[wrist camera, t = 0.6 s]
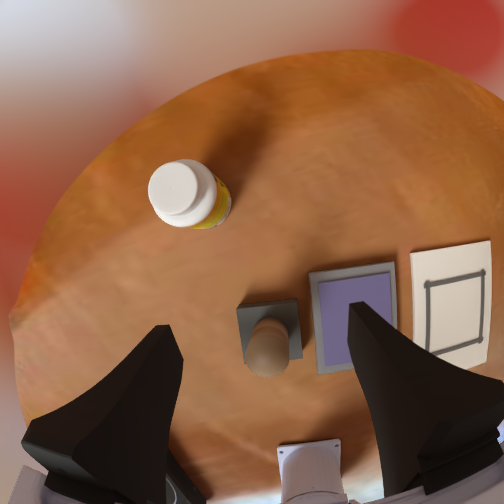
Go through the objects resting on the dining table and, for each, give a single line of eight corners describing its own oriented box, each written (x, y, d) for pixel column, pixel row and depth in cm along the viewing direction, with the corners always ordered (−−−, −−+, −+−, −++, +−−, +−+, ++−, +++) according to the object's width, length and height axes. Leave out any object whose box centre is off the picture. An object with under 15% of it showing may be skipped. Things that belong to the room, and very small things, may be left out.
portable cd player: (129, 499, 36) (121, 512, 32) (77, 429, 35) (64, 441, 31) (208, 499, 34) (202, 516, 30) (153, 422, 34) (142, 438, 30)
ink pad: (393, 356, 30) (397, 361, 28) (317, 370, 31) (318, 375, 29) (390, 260, 29) (395, 262, 28) (308, 272, 30) (309, 274, 29)
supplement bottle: (241, 190, 30) (222, 168, 20) (217, 238, 31) (187, 239, 21) (195, 168, 31) (158, 140, 21) (172, 215, 31) (126, 206, 21)
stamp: (301, 351, 31) (307, 385, 23) (246, 356, 31) (236, 391, 23) (296, 298, 31) (300, 318, 23) (239, 304, 31) (225, 326, 23)
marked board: (484, 360, 28) (486, 362, 28) (410, 384, 30) (412, 387, 29) (487, 240, 28) (491, 240, 27) (409, 253, 29) (412, 253, 28)
